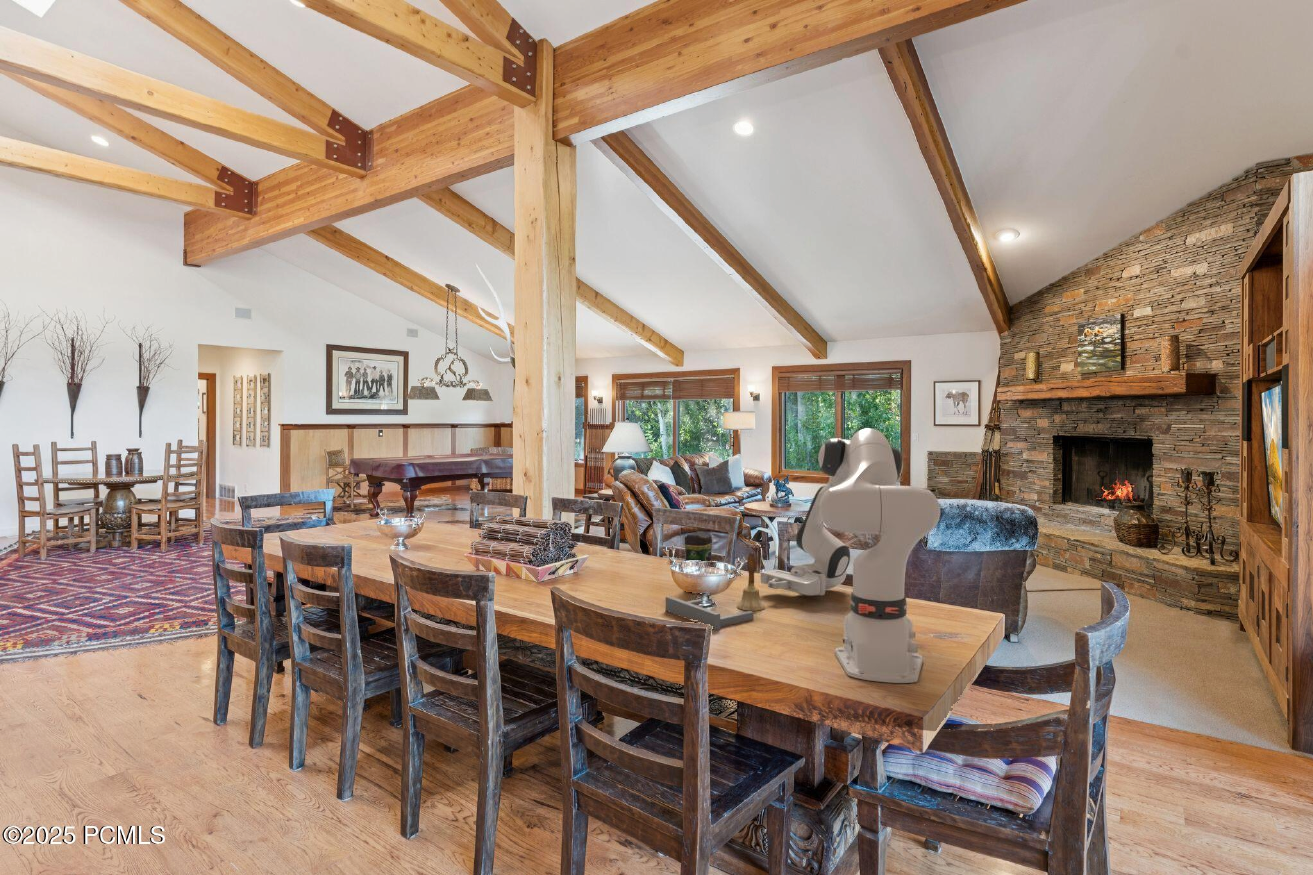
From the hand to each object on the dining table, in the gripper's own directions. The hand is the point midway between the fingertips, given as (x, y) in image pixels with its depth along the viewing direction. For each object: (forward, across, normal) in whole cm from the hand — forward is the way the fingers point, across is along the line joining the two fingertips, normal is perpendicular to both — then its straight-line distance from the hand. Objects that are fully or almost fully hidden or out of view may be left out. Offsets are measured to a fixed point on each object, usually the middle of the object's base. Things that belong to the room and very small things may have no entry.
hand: (771, 585), depth 197 cm
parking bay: (+23, 0, +5) cm, 24 cm away
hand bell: (+8, 0, +5) cm, 10 cm away
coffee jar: (+7, -25, +5) cm, 27 cm away
